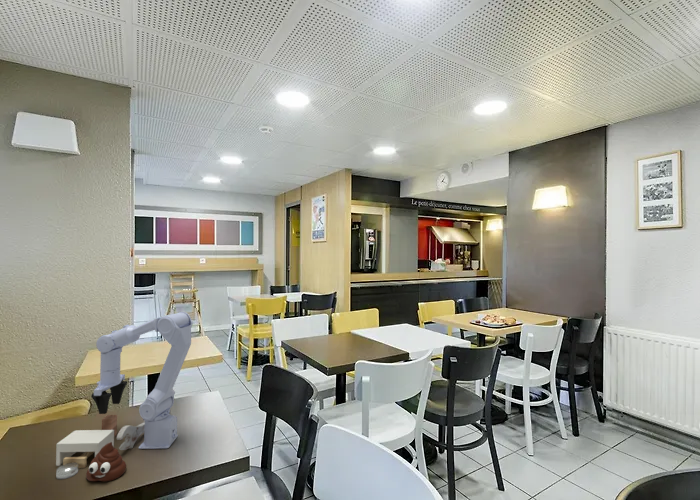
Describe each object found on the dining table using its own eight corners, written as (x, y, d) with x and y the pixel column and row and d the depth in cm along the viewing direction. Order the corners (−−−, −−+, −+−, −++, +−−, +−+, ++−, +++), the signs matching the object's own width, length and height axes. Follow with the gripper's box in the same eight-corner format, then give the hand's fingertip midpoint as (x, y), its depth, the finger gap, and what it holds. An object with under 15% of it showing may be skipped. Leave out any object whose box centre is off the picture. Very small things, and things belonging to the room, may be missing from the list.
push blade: (120, 434, 126) (121, 414, 126) (84, 468, 107) (84, 444, 107) (103, 435, 125) (103, 414, 125) (63, 468, 106) (63, 444, 106)
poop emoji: (132, 466, 108) (132, 435, 108) (114, 484, 100) (115, 451, 100) (98, 466, 108) (98, 435, 108) (77, 485, 99) (78, 451, 99)
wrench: (170, 422, 141) (120, 457, 112) (165, 422, 142) (114, 457, 112) (171, 401, 142) (122, 430, 113) (167, 401, 142) (116, 429, 113)
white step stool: (113, 449, 116) (114, 429, 116) (98, 464, 108) (98, 443, 108) (74, 450, 116) (75, 430, 116) (56, 465, 108) (56, 443, 108)
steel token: (82, 468, 107) (82, 462, 107) (70, 479, 102) (70, 472, 102) (64, 469, 106) (64, 462, 106) (51, 480, 101) (51, 473, 101)
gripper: (110, 362, 131) (110, 399, 131) (84, 376, 117) (83, 418, 117) (131, 362, 132) (130, 399, 132) (107, 376, 117) (106, 418, 117)
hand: (109, 408), depth 124 cm, fingers open, 7 cm apart
